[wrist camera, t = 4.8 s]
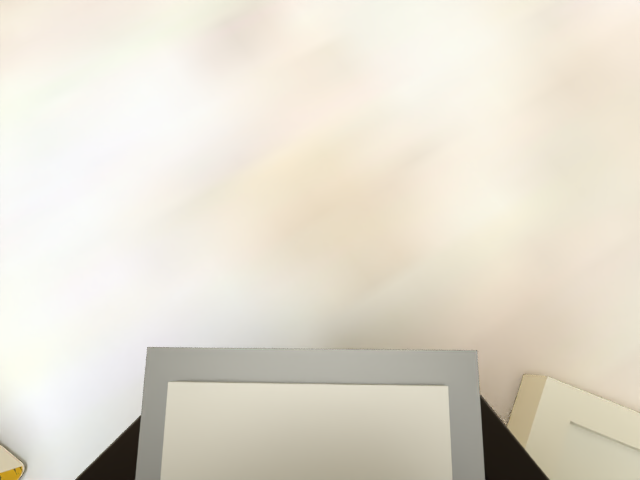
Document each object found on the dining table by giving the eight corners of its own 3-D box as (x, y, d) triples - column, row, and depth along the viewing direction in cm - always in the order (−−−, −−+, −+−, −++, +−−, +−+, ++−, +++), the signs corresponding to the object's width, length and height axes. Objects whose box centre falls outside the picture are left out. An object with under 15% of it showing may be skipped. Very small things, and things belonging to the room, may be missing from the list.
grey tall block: (415, 521, 14) (510, 786, 5) (259, 515, 15) (99, 755, 6) (410, 358, 15) (482, 349, 6) (265, 356, 16) (138, 346, 7)
